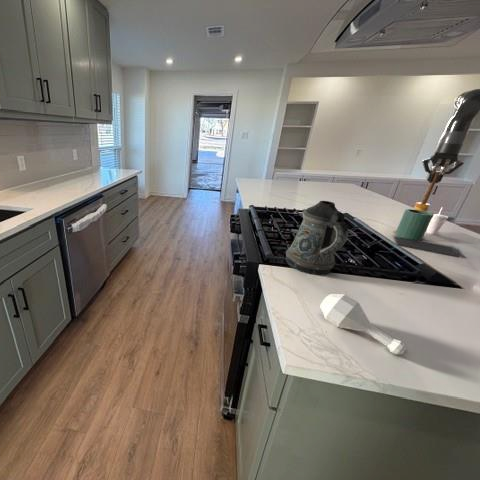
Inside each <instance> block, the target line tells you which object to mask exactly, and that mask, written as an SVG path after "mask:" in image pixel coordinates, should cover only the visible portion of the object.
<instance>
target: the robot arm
mask: <svg viewBox="0 0 480 480" xmlns="http://www.w3.org/2000/svg"><path fill="white" fill-rule="evenodd" d="M453 106H454V108H455V109H457V110H456V111H455V114H454V115H453V116H452V117H451V118H449V120H448V122H447V124H446V126H445V128H444V131H443V133H442V134H441V136H440V138H439V140H438V143H437V145H436V147H435V150H434V152H433V154H432V155H431V156H430V157H429V158H425V159H422V160H421V162H422V165H423V168H424V171H425V172H426V173H427V174H428V176H427V178H426V182H427V183H429V184H430V183H431V181H432V179H433V177H434V173H435V171H438V168H439V167H441V168H440V171H439V172H440V174H439V176H438V178H437V181H436V183H435V184H439V183H441V182H442V179H443V178H444V176H446V175H451V174H452V173H454V172H455V171H456V170H457V169H459V168H460V167H462V166H463V165H464V164H465V163H464V162H463V161H461V160H459V157H458V156H459V154H460V152H461V149H462V147H463V146H464V143H465V141H466V139H467V137H468V133H469V130H470V129H471V126H472V125H473V122H474V120H475V118H476V117H477V116H478V114H479V113H480V88H475V89H472V90H471V89H470V90H467V91H464V92H463V93H461V94H459V95H458V96H457V97H456V98H455V99H454V103H453ZM430 162H431V164H432V166H431V169H430V166H429V164H430ZM452 164H453V166H451V165H452ZM449 166H451V167H450V168H449Z"/></svg>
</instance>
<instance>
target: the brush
mask: <svg viewBox="0 0 480 480" xmlns="http://www.w3.org/2000/svg"><path fill="white" fill-rule="evenodd" d="M439 174H440V171H438V170H436V171H435V173H434V177H433V179H432V181H431V183H430V182H429V184H428V186H427V188H426V191H425V192H424V195H423V197H422V199H421V201H416V202H415V205H414V207H413V209H415V210H421V211H427V212H429V211H428V210H429V209H430V207H431V203H427V202H428V201H429V198H430V196H431V194H432V191H433V189H434V187H435V186H436V184H437V183H436V181H437V178H438V176H439Z"/></svg>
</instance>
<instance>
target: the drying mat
mask: <svg viewBox="0 0 480 480" xmlns="http://www.w3.org/2000/svg"><path fill="white" fill-rule="evenodd" d="M393 238H394V240H395V243H396V245H397V246H400V247H404V248H409V249H414V250H419V251H424V252H430V253H435V254H440V255H445V256H449V257H455V258H460V255H459V253H457V252H456V250H455V249H454V248H453V246H450V245H443V244H438V243H433V242H427V241H422V240H419V241H417V240H412V239H406V238H401V237H399V236H397V235H395V236H394V237H393Z"/></svg>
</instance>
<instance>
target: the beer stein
mask: <svg viewBox="0 0 480 480" xmlns="http://www.w3.org/2000/svg"><path fill="white" fill-rule="evenodd" d="M344 221H345V214H344V213H343V212H342V211H340V210H338V208H337V207H336V204H335V202H333V201H329V200H319V201H318V202H317V203H316V204H315V205H312V206H310V207H307V208H305V209H304V210H303V211H302V222H301V224H300V226H299V228H298V230H297V233H296V235H295V237H294V239H293V241H292V243H291V245H290V246H289V247H288V248H287V250H286V252H285V263H286V264H287V265H288V266H289V267H291V268H292V269H294V270H297V271H299V272H301V273H305V274H308V275H318V276H324V275H328V274H330V273H331V271H332V270H333V268H334V267H335V264H336V260H335V253H336V252H338V251H339V250H340V249H342V248H343V247H344V246H345V244H346V243H347V241H348V238H349V228H348V226H347V225H348V224H346V223H345V222H344ZM288 259H289V260H290V261H292V262H293V263H294V264H293V263H292V262H290V261H289V260H288Z"/></svg>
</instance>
